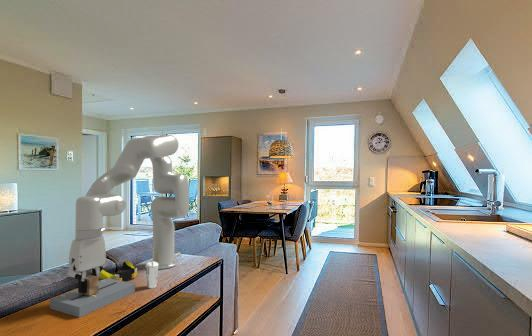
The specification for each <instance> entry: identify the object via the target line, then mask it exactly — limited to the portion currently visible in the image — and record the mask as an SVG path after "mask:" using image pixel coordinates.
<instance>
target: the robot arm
mask: <svg viewBox="0 0 532 336" xmlns="http://www.w3.org/2000/svg"><path fill="white" fill-rule="evenodd" d="M178 149H179V141H178V139H177V137H176V136H174V135H171V134H164V135H163V134H161V135H146V136H143V137H135V138H131V139H129V140H128V141H127V142H126V143H125V146H124V148H123V149H122V151H121V152H120V155H119V157H118V158H117V160H116V162H115V164H114V165H113V166H112V168H110V169H109V170H107V171H106V172H105V173H103V174H102V175H101V176H99V177H98V178H97V179H96V180H94V181H93V183H92V184H91V186H90V188H89V189H88V190H87V192H86V194H85V195H84V196H79V197H78V198H76V201H75V227H74V228H75V232H74V233H75V234H74V235H75V236H74V239H72V242H71V245H70V249H69V255H68V256H69V257H68V272H67V274H66V276H67V277H71V278H73V279H75V280H76V281H77V289H78V291H79V292H80V293H84V294H85V293H86V292H87V281H86V280H85V277H86V275H87V272H88V271H90V275H93V276H97V277H98V276H99V275H100V272H101V271H102V270H104V268H105V267H106V266H107V265H108V261H107V254H106V253H107V252H106V251H107V250H106V242H105V237H104V236H103V232H105V229H106V228H104V227H103V217H110V216H111V217H112V216H113V217H114V216H118V215H120V214H122V213H123V212H124V211H125V209H126V207H127V201H126V199H125V198H124V197H123V196H121V195H119V194H114V193H113V194H112V193H109V192H110V191H112V189H114V188H116V187H117V186H119V185H122V184H124V183H127V182H129V181H131V180H133V179H135V178H136V177H137V175H138V172H139V170H140V169H141V167H142V164H143V162H144V161H145V160H146V159H149V160H150V162H151V164H152V180H153V181H152V183H153V190H154V192H155V193H156V194H162V195H163V194H164V195H174V196H158V197H155V198H154V199H152V201H151V203H150V213H151V219H152V261H151V262H153V261H154V262H157V263H158V264H159V265H158V270H163V269H169V268H173V267H175V266H177V265H178V263H179V262H178V260H177V258H178V257H180V256H182V254H181V252H180V251H178V252H175V232H176V231H175V228H176V227H175V223H174V221H173V219H174V218H175V219H182V218H185V217H186V216H188V214H189V211H190V186H189V180H188V177H187V176H186V175H185V174H183V173H179V172H176V173H175V172H173V164H172V160H171V157H170V156H172V155H174V154H175V153H177V151H178Z"/></svg>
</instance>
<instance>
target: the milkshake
mask: <svg viewBox="0 0 532 336" xmlns="http://www.w3.org/2000/svg"><path fill="white" fill-rule="evenodd" d="M152 261H153V260H152ZM152 261H148V262H147V263H146V264H145V274H146V284H147V285H146V287H147V289H155V288H156V287H157V285H158V284H157V283H158V272H159V269H158V265H159V264H158V263H157V262H154V261H153V262H152Z"/></svg>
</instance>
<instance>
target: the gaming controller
mask: <svg viewBox="0 0 532 336" xmlns="http://www.w3.org/2000/svg"><path fill="white" fill-rule="evenodd" d="M136 276H138V268H137V267H135V266H134V264H133V263H132V262H131V261H129V260H124V261H123V262H122V268H121V271H118V272H115V273H113V274H112V273H109V272H107V271H106V270H104V269H102V271H101V272H100V275H99V276H98V277H99V278H98V281H101V280H104V279H106V278H110V279H114V280H119V281H124V282H128V281H130V280H132V279H134V278H136Z"/></svg>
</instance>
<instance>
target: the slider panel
mask: <svg viewBox="0 0 532 336" xmlns="http://www.w3.org/2000/svg"><path fill="white" fill-rule="evenodd" d="M135 292H136V283H133V282H128V281H125V282H124V281H119V280H114V279H110V278H106V279H104V280H98V292H97V293H95V294H92V295H90V296H89V295H85V294H81V293H78V288H77V289H74V290H71V291H68V292H65V293H63V294H61V295H57V296H55V297H51V298H50V299H49V309H50V310H53V311H57V312H60V313H62V314H63V313H64V314H67V315H69V316H73V317H76V318H79V319H80V318H81V317H84V316H87V315H88V314H90V313H93V312H95V311H97V310H99V309H101V308H104V307H106V306H109V305H110V304H112V303H114V302H116V301H118V300H119V301H120V300H121V299H123V298H126V297H127V296H131V295H132V294H134V293H135Z"/></svg>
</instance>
